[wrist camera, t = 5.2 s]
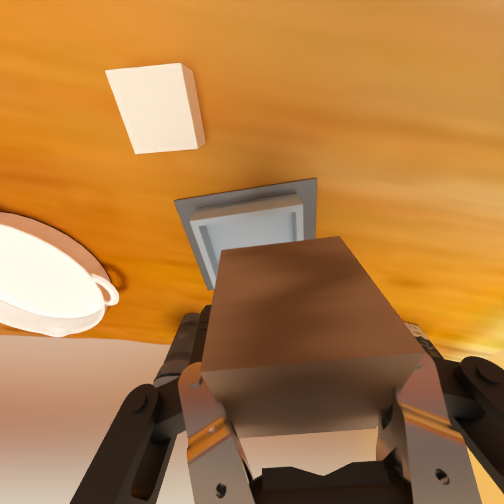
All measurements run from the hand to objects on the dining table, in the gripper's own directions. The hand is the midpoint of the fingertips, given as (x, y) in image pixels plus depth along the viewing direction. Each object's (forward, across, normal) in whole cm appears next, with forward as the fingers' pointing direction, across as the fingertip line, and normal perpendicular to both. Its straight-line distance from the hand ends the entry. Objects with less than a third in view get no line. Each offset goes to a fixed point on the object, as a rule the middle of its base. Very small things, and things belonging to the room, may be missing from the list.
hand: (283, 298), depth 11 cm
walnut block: (+1, 0, 0) cm, 1 cm away
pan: (+19, +36, +9) cm, 42 cm away
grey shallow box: (+18, +2, +7) cm, 20 cm away
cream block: (+18, +8, -10) cm, 22 cm away
